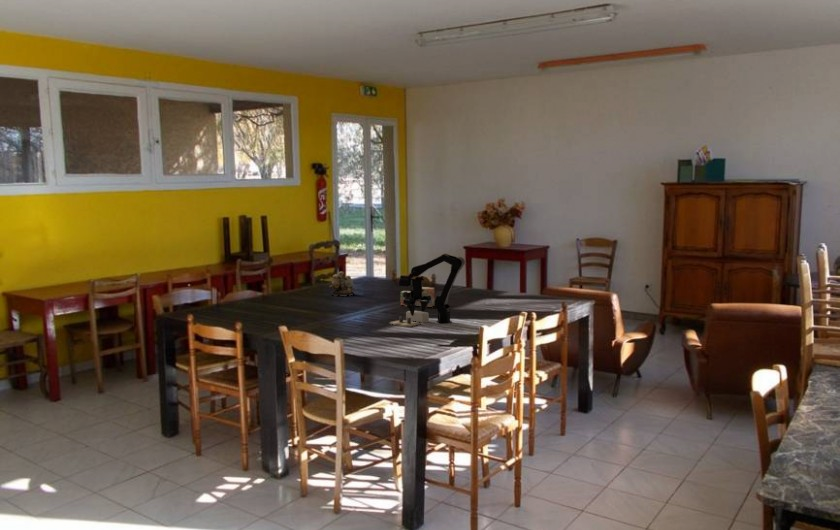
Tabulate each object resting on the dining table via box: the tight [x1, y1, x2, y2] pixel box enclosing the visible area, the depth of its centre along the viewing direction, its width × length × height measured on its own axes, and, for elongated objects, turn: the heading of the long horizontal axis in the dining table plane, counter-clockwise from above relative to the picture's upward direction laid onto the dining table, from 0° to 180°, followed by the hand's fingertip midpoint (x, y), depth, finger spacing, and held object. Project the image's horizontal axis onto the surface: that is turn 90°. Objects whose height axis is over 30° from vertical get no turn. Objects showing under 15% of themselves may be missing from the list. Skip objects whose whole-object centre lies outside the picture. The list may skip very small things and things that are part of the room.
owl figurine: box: [329, 271, 356, 296], centre depth 500 cm, size 18×12×17 cm, turn 105°
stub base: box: [388, 315, 422, 328], centre depth 402 cm, size 15×10×4 cm, turn 50°
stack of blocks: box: [399, 286, 436, 308], centre depth 457 cm, size 21×6×12 cm, turn 74°
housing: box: [405, 310, 430, 323], centre depth 411 cm, size 12×6×5 cm, turn 50°
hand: (417, 314), depth 411 cm, fingers open, 9 cm apart
